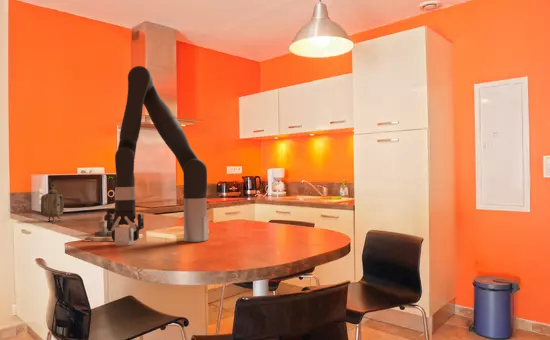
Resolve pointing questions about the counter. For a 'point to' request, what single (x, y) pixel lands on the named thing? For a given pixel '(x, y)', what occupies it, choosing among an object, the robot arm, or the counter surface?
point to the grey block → (124, 235)
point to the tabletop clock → (52, 203)
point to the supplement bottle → (110, 211)
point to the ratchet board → (109, 238)
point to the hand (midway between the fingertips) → (125, 240)
